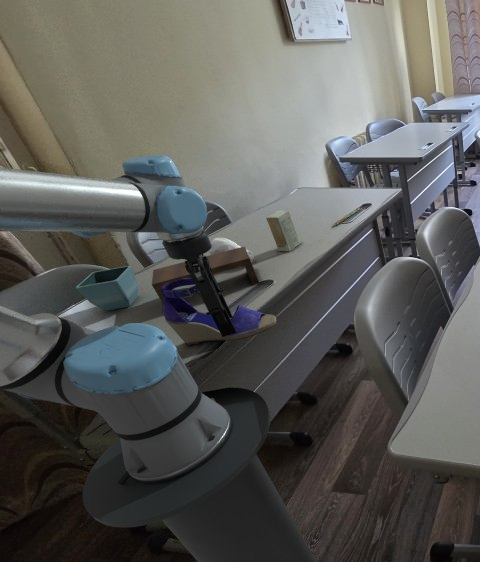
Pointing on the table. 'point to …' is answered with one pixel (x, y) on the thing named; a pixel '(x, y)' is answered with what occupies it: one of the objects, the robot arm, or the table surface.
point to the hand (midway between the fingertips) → (227, 326)
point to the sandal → (207, 317)
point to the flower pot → (110, 288)
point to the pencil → (346, 216)
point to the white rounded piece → (226, 247)
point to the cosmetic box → (283, 230)
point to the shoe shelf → (216, 261)
